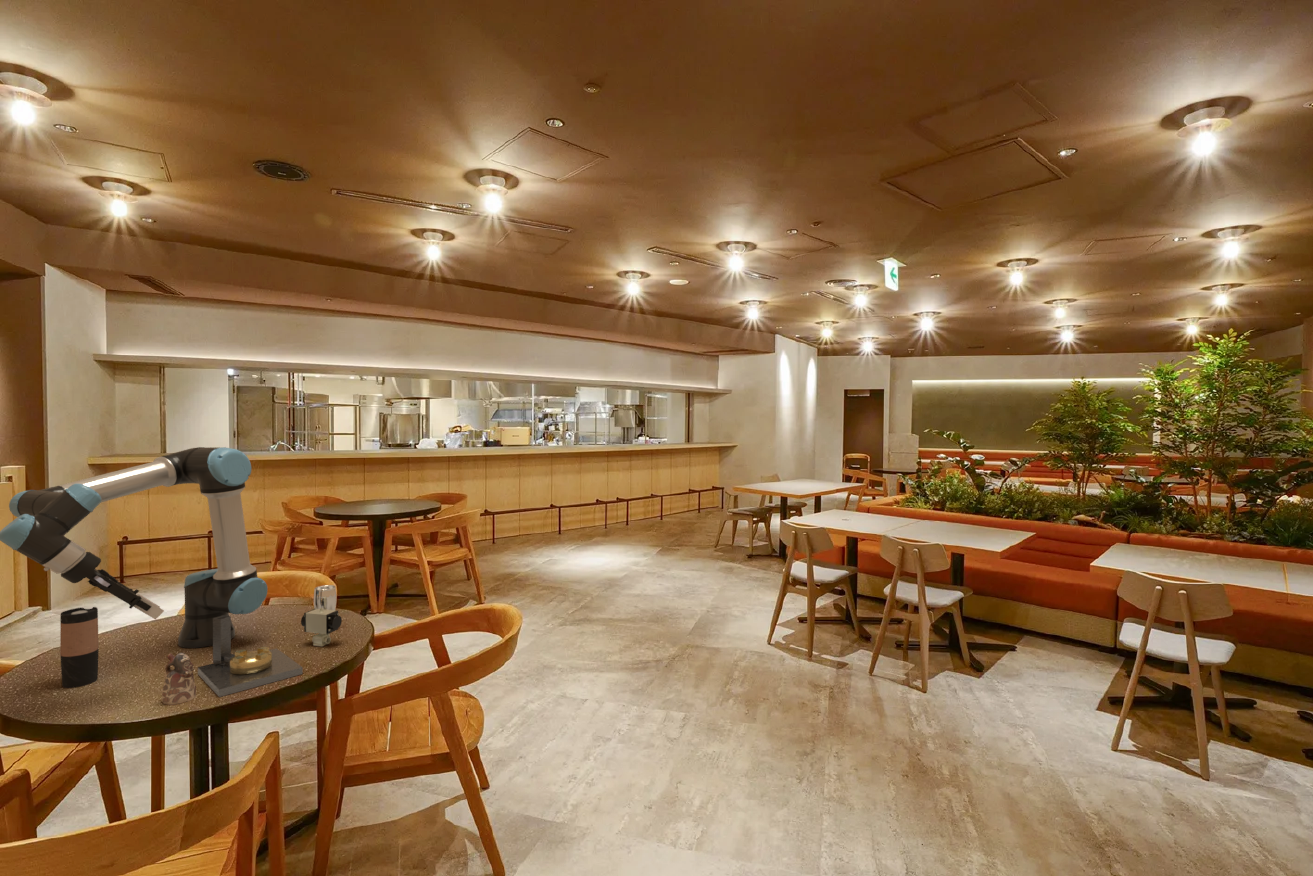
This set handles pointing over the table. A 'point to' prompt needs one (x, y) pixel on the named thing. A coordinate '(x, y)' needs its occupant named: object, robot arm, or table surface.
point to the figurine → (179, 680)
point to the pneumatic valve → (321, 624)
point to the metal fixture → (242, 659)
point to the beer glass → (325, 597)
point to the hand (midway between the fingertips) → (157, 612)
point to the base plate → (230, 683)
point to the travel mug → (79, 646)
